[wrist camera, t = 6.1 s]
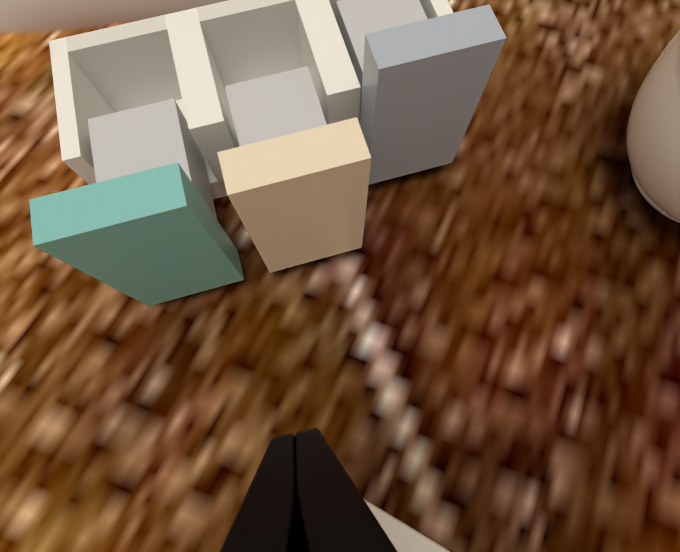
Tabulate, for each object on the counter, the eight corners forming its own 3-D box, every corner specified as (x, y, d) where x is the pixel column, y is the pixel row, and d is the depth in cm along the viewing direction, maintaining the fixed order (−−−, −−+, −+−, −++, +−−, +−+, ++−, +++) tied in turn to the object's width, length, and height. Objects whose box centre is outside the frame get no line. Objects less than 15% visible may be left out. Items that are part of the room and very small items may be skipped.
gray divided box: (445, 139, 23) (475, 58, 18) (130, 221, 22) (62, 160, 16) (408, 52, 25) (426, -45, 19) (115, 123, 23) (48, 41, 18)
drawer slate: (452, 162, 21) (506, 38, 14) (367, 185, 21) (378, 69, 14) (407, 56, 23) (435, -100, 16) (329, 75, 23) (322, -76, 16)
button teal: (244, 279, 20) (186, 205, 12) (148, 306, 19) (33, 245, 12) (215, 155, 22) (151, 29, 14) (128, 177, 21) (18, 59, 14)
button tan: (361, 247, 20) (371, 157, 13) (269, 272, 20) (227, 195, 13) (322, 128, 22) (312, -8, 15) (238, 149, 22) (186, 20, 14)
